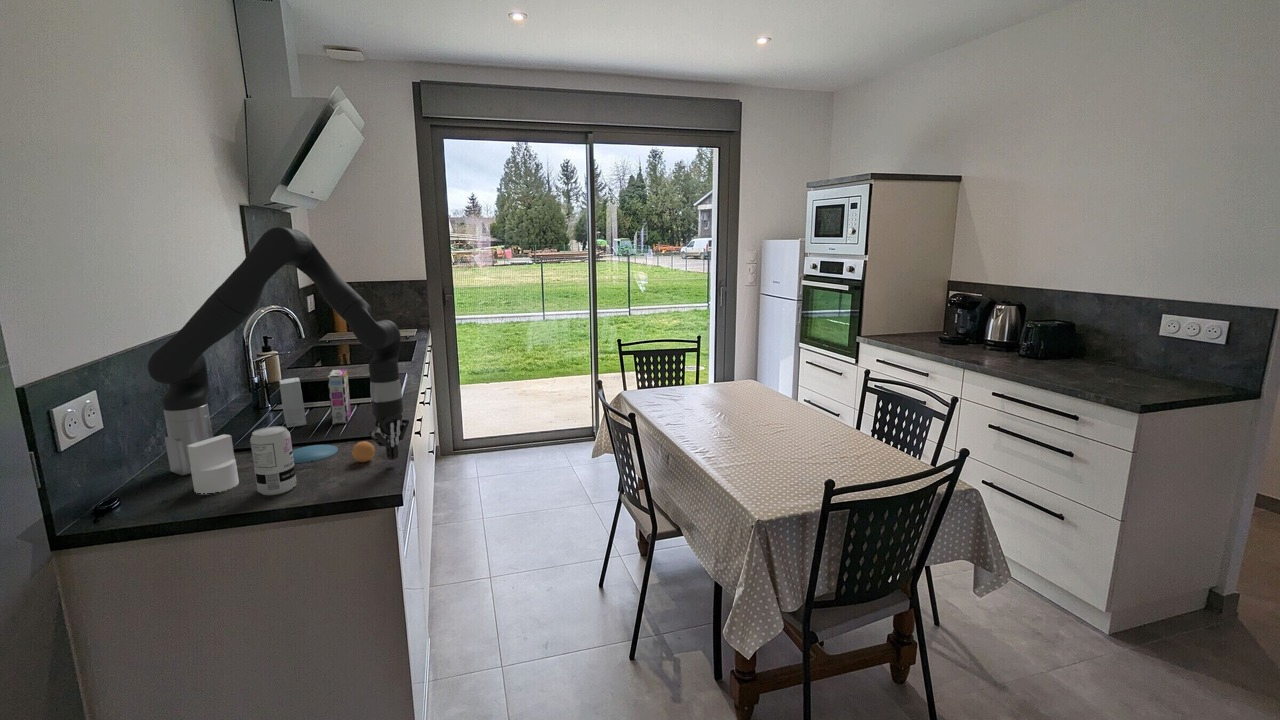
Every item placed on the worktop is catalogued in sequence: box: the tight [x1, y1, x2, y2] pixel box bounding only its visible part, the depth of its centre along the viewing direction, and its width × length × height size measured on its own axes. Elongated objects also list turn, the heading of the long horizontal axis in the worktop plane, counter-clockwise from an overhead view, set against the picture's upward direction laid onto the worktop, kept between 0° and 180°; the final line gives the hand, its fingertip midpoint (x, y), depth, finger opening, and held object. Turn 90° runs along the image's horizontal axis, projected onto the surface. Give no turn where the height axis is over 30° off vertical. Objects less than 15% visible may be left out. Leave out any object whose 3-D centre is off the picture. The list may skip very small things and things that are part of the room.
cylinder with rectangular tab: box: [187, 434, 240, 495], centre depth 144 cm, size 9×9×12 cm
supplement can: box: [249, 425, 298, 496], centre depth 142 cm, size 8×8×15 cm
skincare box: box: [278, 377, 308, 428], centre depth 193 cm, size 8×6×15 cm
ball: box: [351, 440, 376, 463], centre depth 160 cm, size 6×6×6 cm
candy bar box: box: [327, 368, 352, 425], centre depth 197 cm, size 11×5×16 cm, turn 21°
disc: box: [292, 444, 339, 464], centre depth 167 cm, size 14×14×1 cm
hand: (392, 458), depth 158 cm, fingers closed
